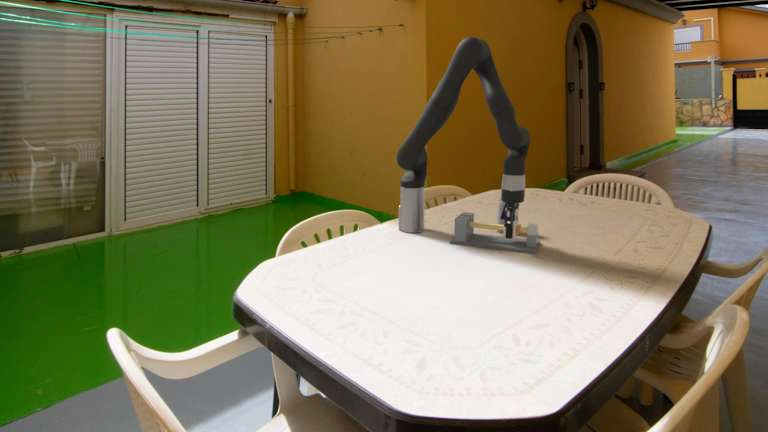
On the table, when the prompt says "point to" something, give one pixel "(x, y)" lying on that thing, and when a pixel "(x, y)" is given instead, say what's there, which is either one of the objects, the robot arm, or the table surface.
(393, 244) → the table surface
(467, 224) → the cord rig
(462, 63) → the robot arm
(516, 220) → the sleeve
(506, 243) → the grey base plate
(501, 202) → the energy drink
